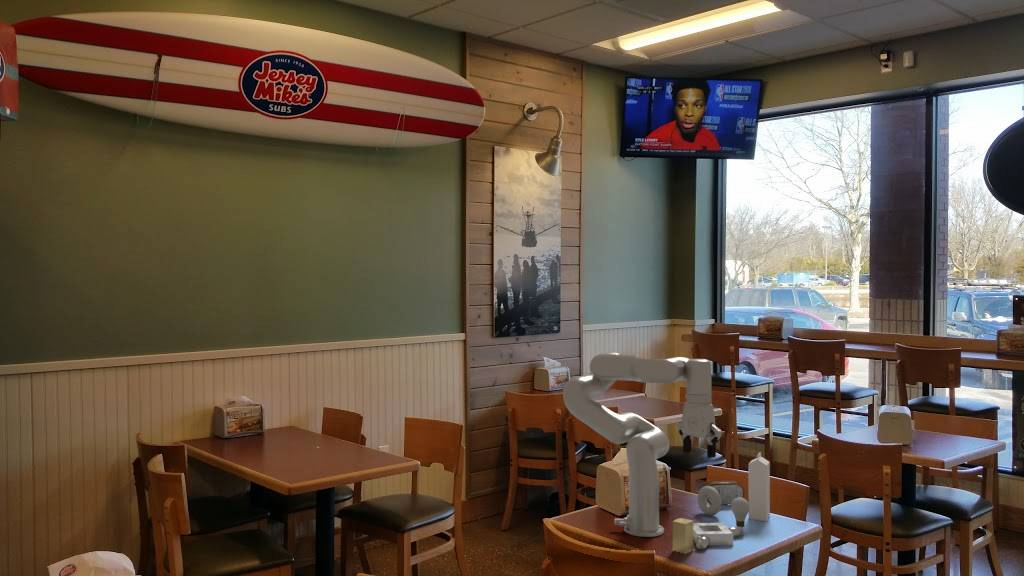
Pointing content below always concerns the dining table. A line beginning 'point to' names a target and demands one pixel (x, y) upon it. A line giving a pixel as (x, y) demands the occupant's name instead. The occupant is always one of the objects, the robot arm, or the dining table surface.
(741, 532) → the shaft right
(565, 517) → the dining table surface
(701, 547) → the shaft left
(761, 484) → the milk
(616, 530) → the dining table surface
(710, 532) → the white square socket base
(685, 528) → the block
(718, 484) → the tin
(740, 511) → the light bulb
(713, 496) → the donut
